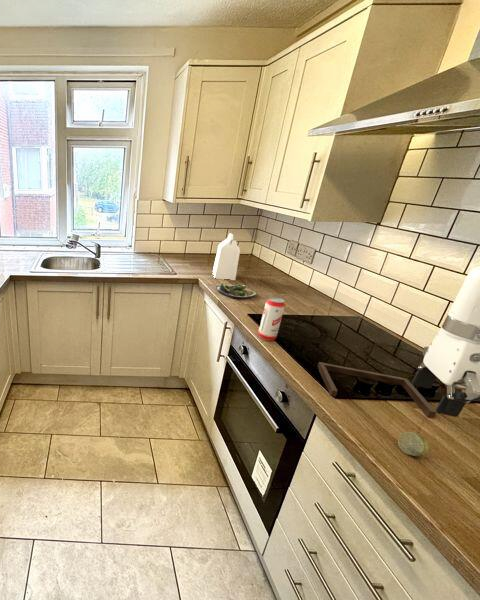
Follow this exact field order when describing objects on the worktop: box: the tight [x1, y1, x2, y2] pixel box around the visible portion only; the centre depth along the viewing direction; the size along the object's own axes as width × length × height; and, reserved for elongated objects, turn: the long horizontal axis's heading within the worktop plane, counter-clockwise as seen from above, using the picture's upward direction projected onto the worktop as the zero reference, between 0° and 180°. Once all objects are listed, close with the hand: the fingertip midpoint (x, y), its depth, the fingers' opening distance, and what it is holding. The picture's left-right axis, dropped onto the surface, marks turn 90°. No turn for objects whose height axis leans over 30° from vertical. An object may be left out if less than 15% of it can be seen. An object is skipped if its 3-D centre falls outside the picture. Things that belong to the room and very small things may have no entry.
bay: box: [316, 361, 438, 419], centre depth 93 cm, size 22×16×2 cm
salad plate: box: [214, 283, 257, 300], centre depth 167 cm, size 19×18×5 cm
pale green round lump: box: [397, 431, 430, 457], centre depth 72 cm, size 4×5×5 cm
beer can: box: [257, 296, 286, 342], centre depth 119 cm, size 6×6×16 cm
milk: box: [212, 233, 241, 281], centre depth 189 cm, size 12×12×26 cm
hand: (432, 399), depth 68 cm, fingers open, 9 cm apart
